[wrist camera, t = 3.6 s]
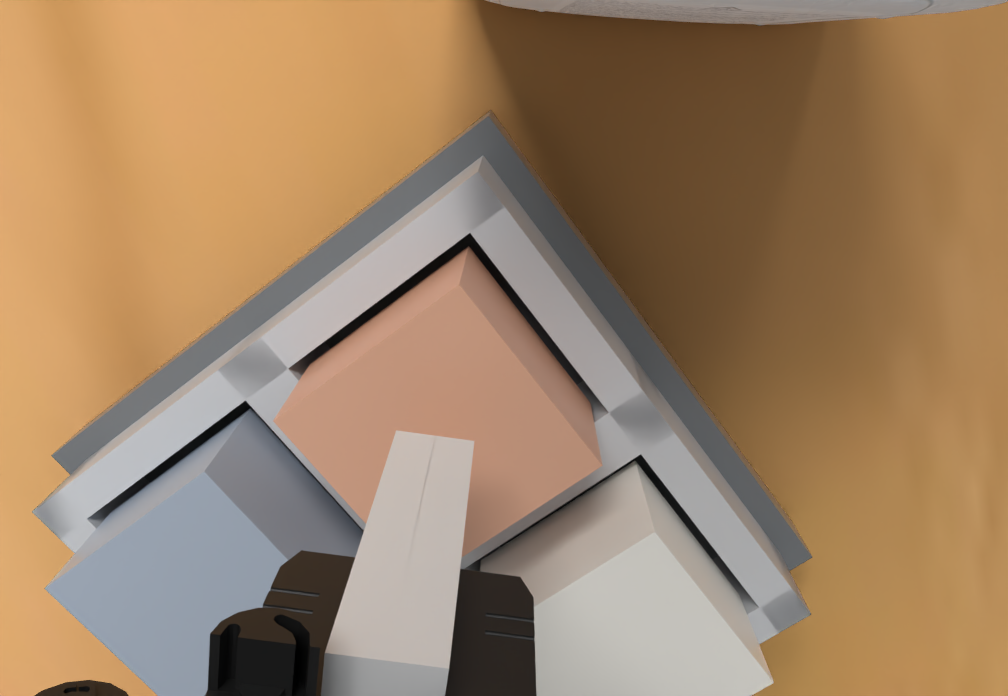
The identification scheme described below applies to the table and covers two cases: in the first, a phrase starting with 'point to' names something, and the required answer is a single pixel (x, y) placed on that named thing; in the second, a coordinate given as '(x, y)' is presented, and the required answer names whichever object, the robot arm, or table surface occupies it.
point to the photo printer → (750, 9)
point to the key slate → (198, 552)
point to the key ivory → (630, 600)
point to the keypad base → (540, 299)
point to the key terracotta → (447, 399)
